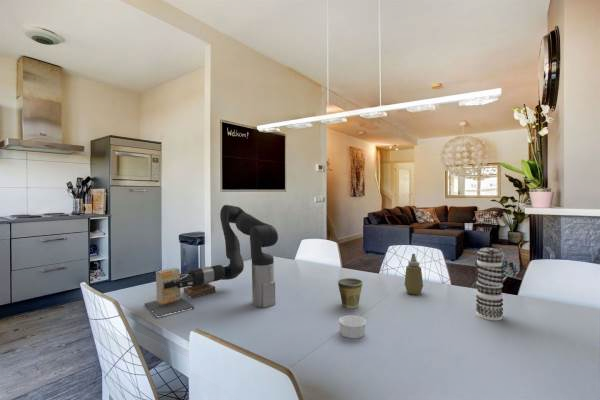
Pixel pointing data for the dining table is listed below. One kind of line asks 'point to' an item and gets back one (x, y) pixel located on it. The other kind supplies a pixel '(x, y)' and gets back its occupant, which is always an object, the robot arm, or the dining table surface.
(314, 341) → the dining table surface
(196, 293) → the cradle
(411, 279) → the squeeze bottle
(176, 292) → the supplement box
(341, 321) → the ramekin
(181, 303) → the slate mat
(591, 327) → the dining table surface
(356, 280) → the ceramic cup
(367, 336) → the dining table surface
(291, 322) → the dining table surface
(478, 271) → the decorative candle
